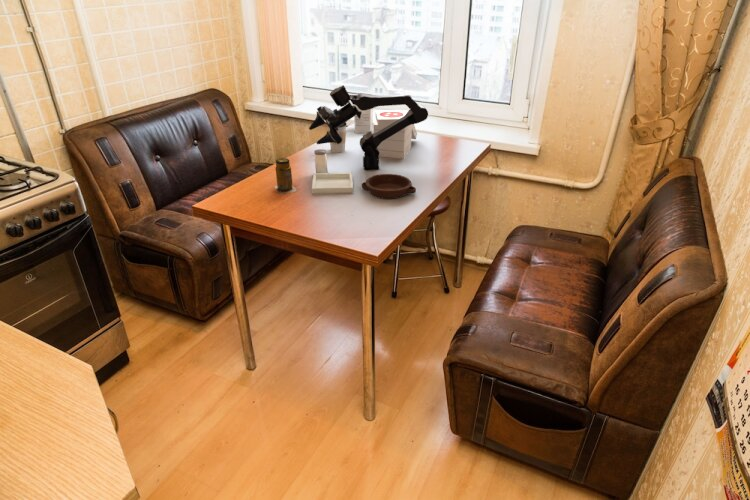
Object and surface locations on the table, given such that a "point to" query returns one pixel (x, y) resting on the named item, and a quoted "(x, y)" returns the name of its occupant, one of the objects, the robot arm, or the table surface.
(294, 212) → the table surface
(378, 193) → the dish
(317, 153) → the jar
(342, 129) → the coffee cup
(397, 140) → the pizza boxes
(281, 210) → the table surface
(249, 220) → the table surface
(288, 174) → the condiment
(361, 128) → the supplement box
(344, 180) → the tray
